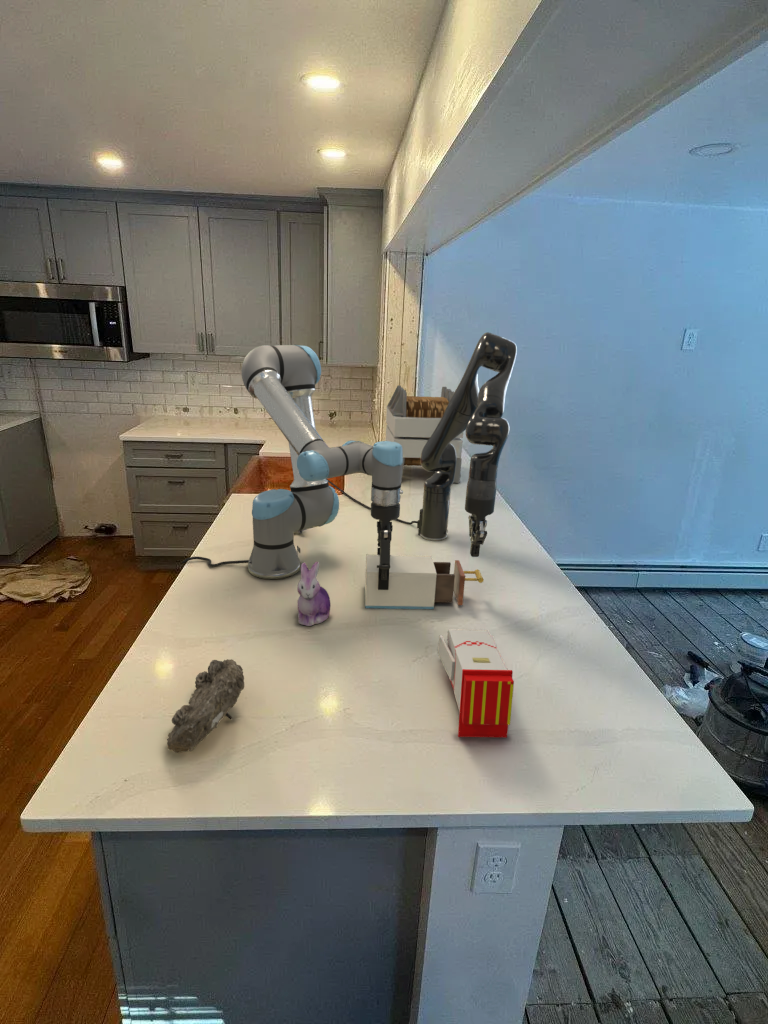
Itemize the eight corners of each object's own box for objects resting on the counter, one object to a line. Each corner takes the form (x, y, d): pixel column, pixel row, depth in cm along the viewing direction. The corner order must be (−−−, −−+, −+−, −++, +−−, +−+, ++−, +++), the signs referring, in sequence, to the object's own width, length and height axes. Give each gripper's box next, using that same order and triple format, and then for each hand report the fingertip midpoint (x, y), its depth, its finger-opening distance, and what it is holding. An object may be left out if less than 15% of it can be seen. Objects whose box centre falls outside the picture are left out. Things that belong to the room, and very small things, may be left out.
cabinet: (429, 589, 161) (431, 555, 157) (433, 609, 151) (436, 573, 147) (364, 588, 160) (366, 554, 156) (365, 608, 150) (366, 571, 146)
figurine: (302, 631, 137) (302, 575, 132) (289, 611, 146) (288, 558, 141) (338, 623, 142) (339, 568, 137) (323, 604, 150) (323, 552, 145)
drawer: (476, 588, 161) (479, 560, 158) (483, 605, 152) (486, 576, 149) (396, 587, 160) (398, 559, 157) (398, 604, 150) (400, 574, 147)
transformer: (382, 463, 289) (386, 382, 275) (445, 464, 293) (451, 384, 279) (390, 482, 257) (394, 392, 243) (460, 483, 261) (468, 394, 247)
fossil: (192, 660, 117) (244, 628, 112) (224, 691, 120) (276, 661, 115) (142, 746, 98) (202, 712, 93) (182, 779, 101) (242, 748, 96)
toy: (488, 613, 130) (523, 677, 101) (484, 667, 133) (517, 744, 104) (435, 612, 130) (455, 676, 101) (432, 666, 133) (451, 743, 103)
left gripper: (403, 518, 135) (398, 600, 142) (397, 488, 157) (393, 561, 164) (372, 517, 134) (369, 599, 142) (370, 488, 156) (367, 560, 164)
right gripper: (501, 502, 140) (493, 566, 146) (489, 486, 152) (483, 546, 158) (471, 502, 139) (464, 566, 145) (462, 486, 152) (456, 545, 158)
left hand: (382, 579), depth 153 cm, fingers closed on cabinet, 11 cm apart
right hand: (474, 555), depth 152 cm, fingers closed
